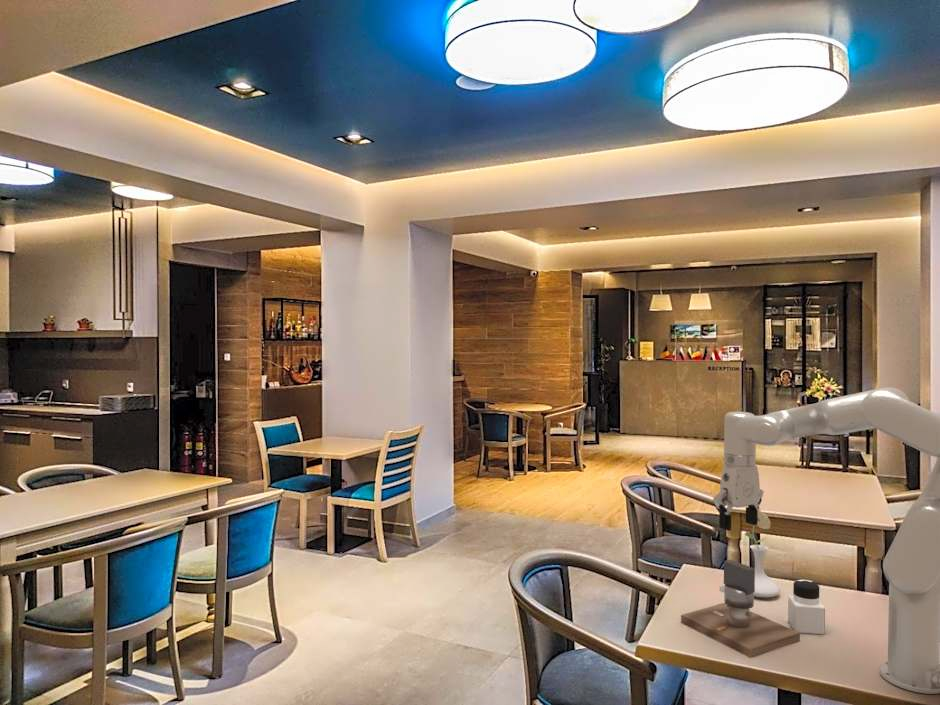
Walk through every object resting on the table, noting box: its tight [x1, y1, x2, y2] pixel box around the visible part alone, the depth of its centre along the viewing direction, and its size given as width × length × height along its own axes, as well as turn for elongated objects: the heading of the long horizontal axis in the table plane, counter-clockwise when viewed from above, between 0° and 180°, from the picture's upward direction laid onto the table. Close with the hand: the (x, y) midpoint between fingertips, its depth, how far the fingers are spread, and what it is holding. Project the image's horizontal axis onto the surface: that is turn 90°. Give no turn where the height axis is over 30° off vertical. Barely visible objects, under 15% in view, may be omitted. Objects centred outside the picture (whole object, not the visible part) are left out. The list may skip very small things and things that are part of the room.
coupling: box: [719, 559, 755, 610], centre depth 172 cm, size 10×7×10 cm
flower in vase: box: [744, 508, 781, 598], centre depth 197 cm, size 13×11×25 cm
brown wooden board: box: [680, 602, 801, 659], centre depth 172 cm, size 22×18×7 cm
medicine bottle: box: [787, 579, 826, 635], centre depth 174 cm, size 7×7×12 cm
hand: (738, 526), depth 171 cm, fingers open, 9 cm apart
